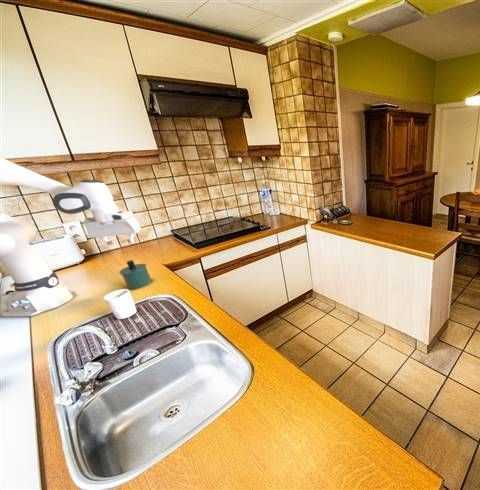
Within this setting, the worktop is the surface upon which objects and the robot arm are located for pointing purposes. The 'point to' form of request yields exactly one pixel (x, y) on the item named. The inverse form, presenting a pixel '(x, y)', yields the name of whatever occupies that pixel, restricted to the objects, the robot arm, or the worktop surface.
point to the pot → (137, 279)
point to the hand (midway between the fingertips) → (120, 243)
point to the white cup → (121, 303)
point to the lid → (132, 268)
